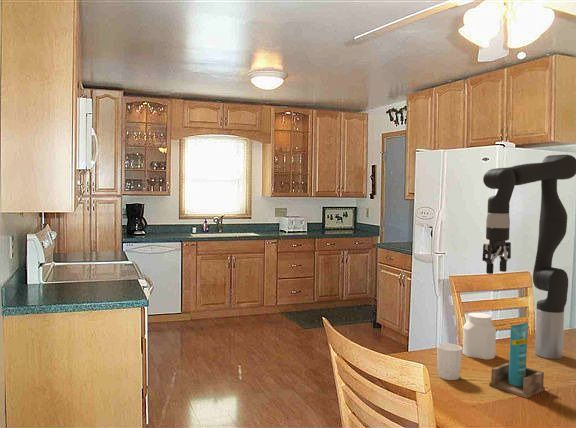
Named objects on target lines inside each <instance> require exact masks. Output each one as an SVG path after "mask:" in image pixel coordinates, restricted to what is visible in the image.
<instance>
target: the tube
mask: <svg viewBox="0 0 576 428" xmlns="http://www.w3.org/2000/svg"><path fill="white" fill-rule="evenodd" d="M528 325H529V324H528V322H524V323H519V324H512V325H510V335H509V337H510V338H509V357H508V358H509V378H508V383H509V384H511V385H513V386H517V387H523V378H525V377H526V367H527V354H528V353H527V352H528V332H529V331H528V328H529V327H528Z"/></svg>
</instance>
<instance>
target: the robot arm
mask: <svg viewBox="0 0 576 428" xmlns="http://www.w3.org/2000/svg"><path fill="white" fill-rule="evenodd" d="M575 176H576V157H575V156H573V155H572V154H552V155H547V156H545V157H544V158H543V160H542V162H532V163H531V162H530V163H524V164H518V165H517V164H516V165H514V166H509V167H501V168H500V167H498V168H491V169H488V170H487V171H486V172H485V173H484V175H483V180H482V182H483V184H484V185H485V187H487V189H491V190H497V191H496V194H495V195H491V196H490V197H488V199H487V211H486V212H487V216H486V220H485V221H486V222H485V223H486V225H485V227H486V228H485V229H486V230H485V238H486V240H489V241H488V243H483V246H482V259H481V260H482V261H483V262H485V263H486V266H485V267H486V270H485V271H486V272H485V273H486V274H487V275H488V274H489V275H493V274H494V268H495V267H494V262H495V260H496V259H497V258H498V259H499V271H500V272H503V273H506V272H507V267H508V266H507V263H508V261H509V260H510V259H511V257H512V253H511V252H512V243H511V241H510V242H509V240H510V228H511V227H510V225H511V223H510V222H511V221H510V220H511V219H510V201H511V198H512V197H513V192H514V189H515V186H522V185H528V184H531V183H536V182H541V183H540V186H541V188H540V189H541V190H540V191H541V195H540V196H541V199H540V212H539V222H538V240H537V246H536V247H537V248H536V255H535V259H534V260H535V262H534V266H533V267H534V268H533V273H532V283H533V286H534V287H535V289H537V290H540V291H543V292H547V294H546V298H544V299H540V300H538V301H537V302H536V310H535V311H536V313H535V317H536V318H535V341H534V345H535V346H534V353H535V355H536V356H538V357H542V358H546V359H552V360H557V359H558V360H560V359H562V358H563V351H564V350H563V347H564V327H565V326H564V325H565V324H564V323H565V307H566V304H567V301H568V294H569V293H568V290H569V277H568V273H567V272H566V271H565V269H562V268H557V267H553V263H552V262H553V257H554V254H555V252H556V249H558V247H559V246H560V244H561V243H562V242H563V240H564V238H565V236H566V233H567V228H568V227H567V226H568V213H567V210H566V208H565V206H564V204H563V202H562V201H561V199H560V196H559V192H558V180H562V181H563V180H570V179H571V178H573V177H575Z"/></svg>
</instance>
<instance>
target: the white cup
mask: <svg viewBox="0 0 576 428" xmlns="http://www.w3.org/2000/svg"><path fill="white" fill-rule="evenodd" d="M436 351H437V352H436V356H437V358H436V359H437V361H436V363H437V374H438V377H439V378H441V379H443V380H447V381H457V380H460V378H461V377H460V376H461V375H460V374H461V367H462V357H463V346H461V345H458V344H454V343H447V342H446V343H445V342H444V343H443V342H442V343H438V344H437V345H436Z"/></svg>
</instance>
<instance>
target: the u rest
mask: <svg viewBox="0 0 576 428" xmlns="http://www.w3.org/2000/svg"><path fill="white" fill-rule="evenodd" d="M544 373H545V372H544V371H540V370H537V369H532V368H531V367H527V366H526V377H525V378H523V387H517V386H513V385H511V384H509V383H508V378H509V362H506V363H503V364H500V365H498V366H495V367H492V368H491V375H490V377H491V379H490V380H491V382H489V387H492V388H494V389H498V390H500V391H504V392H507V393H510V394H513V395H516V396H519V397H521V398H525V399H529V398H531V397H533V396H535V395H537V394H539V393H541V392H544V391H545V389H546V387H545V386H544V377H545V374H544Z"/></svg>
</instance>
